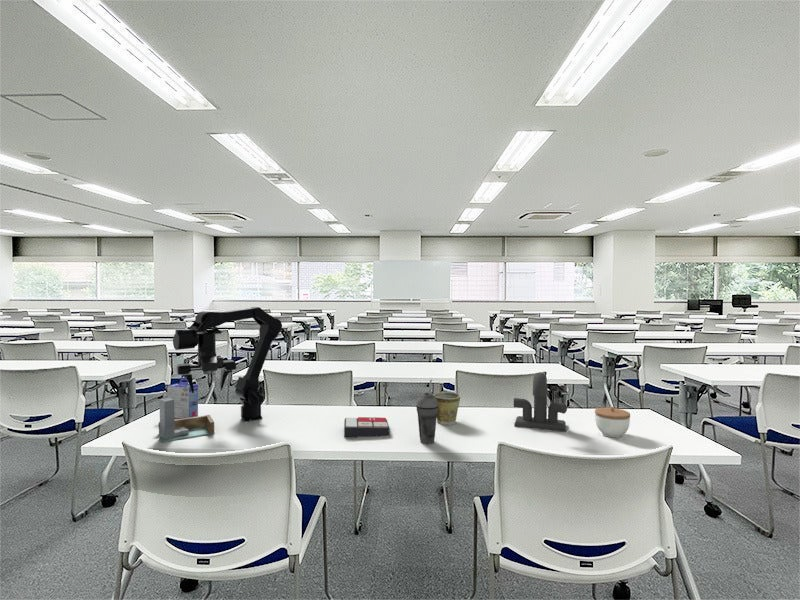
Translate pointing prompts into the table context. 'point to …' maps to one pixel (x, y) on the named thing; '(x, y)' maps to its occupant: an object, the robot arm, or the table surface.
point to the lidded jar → (612, 421)
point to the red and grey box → (365, 427)
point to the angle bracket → (169, 421)
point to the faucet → (540, 409)
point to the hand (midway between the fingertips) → (207, 391)
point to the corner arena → (193, 427)
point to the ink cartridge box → (184, 399)
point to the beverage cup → (427, 416)
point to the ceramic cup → (447, 407)
